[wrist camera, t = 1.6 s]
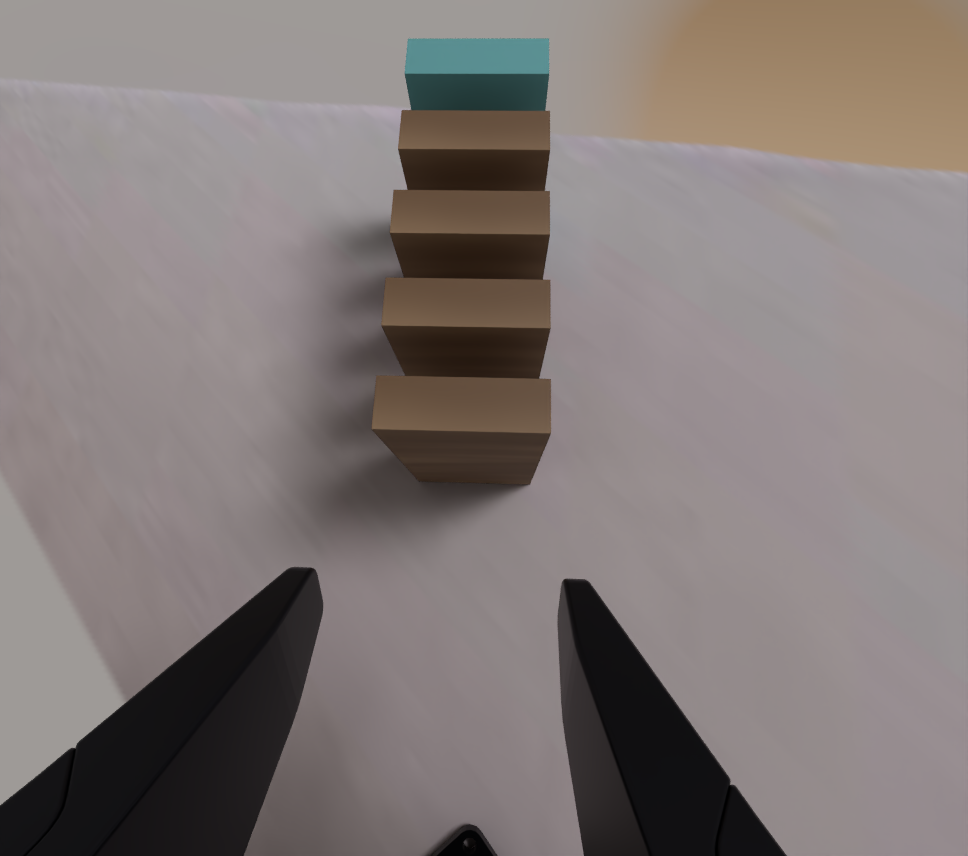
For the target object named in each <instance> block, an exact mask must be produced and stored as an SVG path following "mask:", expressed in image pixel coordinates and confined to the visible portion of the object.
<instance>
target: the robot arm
mask: <svg viewBox="0 0 968 856" xmlns="http://www.w3.org/2000/svg"><path fill="white" fill-rule="evenodd" d="M322 614H323V599H322V594H321V589H320V584H319V580H318V575H317V572H316V570H315V569H314V568H307V567H291V568H289V569H287V570H286V571H284V572H283V573H282V574H281V575H280V576H278V577H277V578H276V579H275V580H274V581H272V582H271V583H270V584H269V585H268V586H266V587H265V588H264V589H263V590H261V591H260V592H259V593H258V594H257V595H255V596H254V597H253V598H252V599H251V600H249V601H248V602H247V603H246V604H245V605H243V606H242V607H241V608H240V609H239V610H237V611H236V612H235V613H234V614H232V615H231V616H230V617H229V618H228V619H226V620H225V621H224V622H223V623H222V624H220V625H219V626H218V627H217V628H216V629H214V630H213V631H212V632H211V633H210V634H208V635H207V636H206V637H205V638H203V639H202V640H201V641H200V642H199V643H197V644H196V645H195V646H194V647H193V648H191V649H190V650H189V651H188V652H187V653H185V654H184V655H183V656H182V657H181V658H179V659H178V660H177V661H176V662H174V663H173V664H172V665H171V666H170V667H168V668H167V669H166V670H165V671H164V672H162V673H161V674H160V675H159V676H158V677H156V678H155V679H154V680H153V681H151V682H150V683H149V684H148V685H147V686H145V687H144V688H143V689H142V690H141V691H139V692H138V693H137V694H136V695H135V696H133V697H132V698H131V699H130V700H129V701H127V702H126V703H125V704H124V705H122V706H121V707H120V708H119V709H118V710H116V711H115V712H114V713H113V714H112V715H111V716H109V717H108V718H107V719H106V720H104V721H103V722H102V723H101V724H100V725H98V726H97V727H96V728H95V729H94V730H92V731H91V732H90V733H89V734H88V735H86V736H85V737H84V738H83V739H81V740H80V741H79V742H78V743H77V745H76V749H75V748H71V749H69V750H68V751H67V752H65V753H64V754H63V755H62V756H61V757H59V758H58V759H57V760H56V761H55V762H53V763H52V764H51V765H50V766H48V767H47V768H46V769H45V770H44V771H42V772H41V773H40V774H39V775H38V776H36V777H35V778H34V779H33V780H31V781H30V782H29V783H28V784H26V785H25V786H24V787H23V788H21V789H20V790H19V791H18V792H16V793H15V794H14V795H13V796H11V797H10V798H9V799H8V800H6V801H5V802H4V803H3V804H1V805H0V856H244V853H245V850H246V848H247V845H248V842H249V840H250V837H251V834H252V831H253V829H254V826H255V823H256V821H257V818H258V815H259V813H260V810H261V807H262V805H263V802H264V799H265V796H266V794H267V791H268V788H269V786H270V783H271V780H272V778H273V775H274V772H275V770H276V767H277V764H278V761H279V759H280V756H281V753H282V751H283V748H284V745H285V743H286V740H287V737H288V735H289V732H290V729H291V726H292V724H293V721H294V718H295V715H296V712H297V709H298V706H299V703H300V699H301V696H302V692H303V688H304V684H305V681H306V677H307V673H308V669H309V665H310V661H311V657H312V653H313V649H314V646H315V642H316V638H317V634H318V630H319V626H320V622H321V618H322ZM558 643H559V664H560V684H561V705H562V717H563V726H564V733H565V740H566V746H567V753H568V759H569V765H570V771H571V777H572V784H573V790H574V796H575V802H576V809H577V815H578V821H579V827H580V833H581V840H582V846H583V852H584V856H787V855H786V854H785V853H784V851H783V850H782V849H781V847H780V846H779V845H778V843H777V842H776V841H775V839H774V838H773V837H772V835H771V834H770V833H769V831H768V830H767V829H766V827H765V826H764V825H763V823H762V822H761V821H760V819H759V818H758V817H757V815H756V814H755V813H754V811H753V810H752V808H751V807H750V805H749V804H748V803H747V801H746V800H745V798H744V797H743V796H742V794H741V793H740V791H739V790H738V789H737V787H736V786H735V785H730V782H731V781H730V778H729V776H728V775H727V774H726V772H725V771H724V769H723V768H722V767H721V765H720V764H719V762H718V761H717V760H716V758H715V757H714V755H713V754H712V753H711V751H710V750H709V748H708V747H707V746H706V744H705V743H704V741H703V740H702V739H701V737H700V736H699V734H698V733H697V732H696V730H695V729H694V727H693V726H692V725H691V723H690V722H689V720H688V719H687V718H686V716H685V715H684V714H683V712H682V711H681V709H680V708H679V707H678V705H677V704H676V702H675V701H674V700H673V698H672V697H671V695H670V694H669V693H668V691H667V690H666V688H665V687H664V686H663V684H662V683H661V681H660V680H659V679H658V677H657V676H656V674H655V673H654V672H653V670H652V669H651V667H650V666H649V665H648V663H647V662H646V660H645V659H644V658H643V656H642V655H641V653H640V652H639V651H638V649H637V648H636V646H635V645H634V644H633V642H632V641H631V639H630V638H629V637H628V635H627V634H626V632H625V631H624V630H623V628H622V627H621V626H620V624H619V623H618V621H617V620H616V619H615V617H614V616H613V614H612V613H611V612H610V610H609V609H608V607H607V606H606V605H605V603H604V602H603V600H602V599H601V598H600V596H599V595H598V593H597V592H596V591H595V589H594V588H593V586H592V585H591V584H590V582H589V581H587V580H585V579H565V580H563V582H562V585H561V593H560V601H559V609H558ZM467 838H473V839H474V840H475V841H476V845H475V846H474V847H473V848H467V847H466V846H465V844H464V840H465V839H467ZM431 856H497V854H496V853H495V851H494V850H493V848H492V847H491V845H490V844H489V842H488V841H487V839H486V838H485V836H484V835H483V833H482V832H481V830H480V829H479V828H478V827H477V826H474V825H466V826H464V827H462V828H461V829H460V830H459V831H458V832H457V833H456V834H454V835H453V836H452V837H451V838H450V839H449V840H448V841H447V842H446V843H445V844H443V845H442V846H441V847H440V848H439V849H438V850H437V851H436V852H435V853H434V854H432V855H431Z"/></svg>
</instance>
